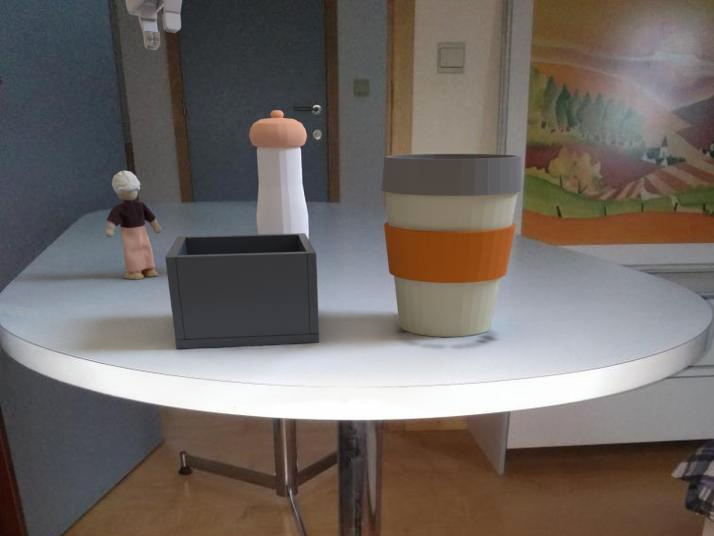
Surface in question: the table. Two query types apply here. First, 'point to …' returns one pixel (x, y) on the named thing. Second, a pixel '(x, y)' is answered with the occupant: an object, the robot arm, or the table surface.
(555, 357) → the table surface
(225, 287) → the dark grey storage bin
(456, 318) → the reusable coffee cup
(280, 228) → the pepper shaker
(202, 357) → the table surface
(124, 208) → the grandmother figurine
